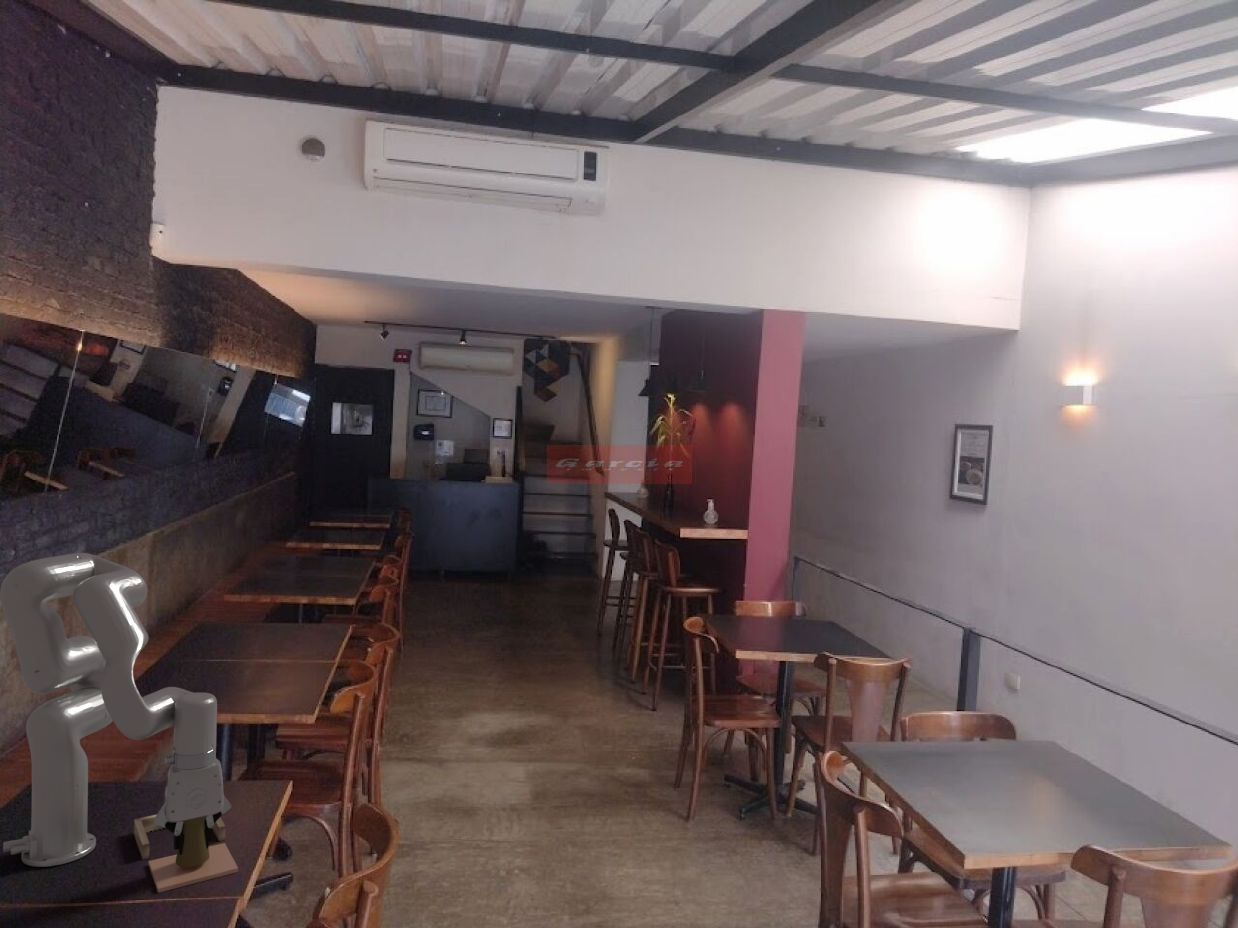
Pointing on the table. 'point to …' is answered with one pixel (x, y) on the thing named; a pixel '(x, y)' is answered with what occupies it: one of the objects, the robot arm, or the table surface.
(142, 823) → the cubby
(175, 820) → the robot arm
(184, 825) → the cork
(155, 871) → the tile
